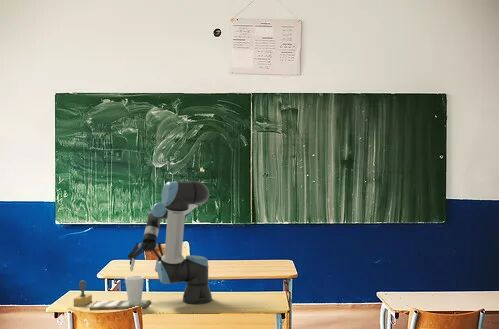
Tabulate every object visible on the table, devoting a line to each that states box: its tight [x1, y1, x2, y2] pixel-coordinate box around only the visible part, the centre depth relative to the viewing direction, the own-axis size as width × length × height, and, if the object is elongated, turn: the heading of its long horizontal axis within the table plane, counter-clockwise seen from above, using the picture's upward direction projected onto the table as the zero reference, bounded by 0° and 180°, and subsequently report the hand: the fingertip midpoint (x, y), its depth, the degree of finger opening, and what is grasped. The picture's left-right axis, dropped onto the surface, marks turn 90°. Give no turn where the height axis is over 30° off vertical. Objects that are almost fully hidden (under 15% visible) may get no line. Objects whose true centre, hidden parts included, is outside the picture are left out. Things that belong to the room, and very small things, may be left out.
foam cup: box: [124, 275, 145, 305], centre depth 281 cm, size 10×9×13 cm
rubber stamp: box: [73, 280, 93, 307], centre depth 287 cm, size 10×6×12 cm, turn 173°
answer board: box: [89, 299, 152, 311], centre depth 281 cm, size 28×13×1 cm, turn 91°
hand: (143, 270), depth 295 cm, fingers open, 13 cm apart
